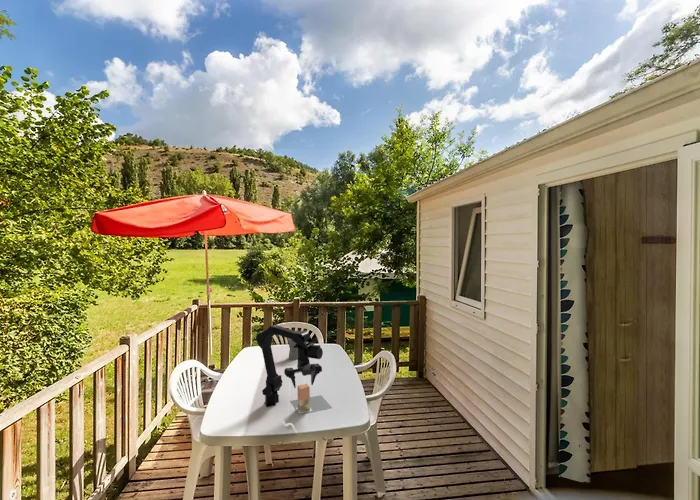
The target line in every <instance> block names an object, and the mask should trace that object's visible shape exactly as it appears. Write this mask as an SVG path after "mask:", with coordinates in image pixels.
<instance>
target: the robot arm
mask: <svg viewBox="0 0 700 500" xmlns="http://www.w3.org/2000/svg"><path fill="white" fill-rule="evenodd" d="M275 335H277V336H281V337H284V338H285V339H286V338H289V339H291V340H293V342H295V343H296V345H295V346H294V348H297V355H298V358H297V360H296V361H297V366H296V367H297V368H295V369H294V368H293V367H288V368H287V367H286V368H285V369H284V375H285V376H286V378H288V379H290V380H291V382H292V385H293V387H294V389H296V387H297V386H296V376H295V374H297V373H298V374H299V373H301V375H302V376H304V377H305V376H310V383H311V386H313V385H314V382H315V379H316V377H317V376H318V375H319V374H320V373H322V372H323V368H322V366H321V365H320V364H319V363H311V362H310V359H314V360H321V359H322V357H323V353H324V351H323V348H322V347H321V344H315V342H314V340H313V338H312V336H311V335H310V333H309V332H308V331H305V330H294V329H290V328H287V327H284V326H280V325H278V324H273V325H270V326H269V327H268V328H267V329H265V330H264V331H261V332H259V333H257V335H256V336H255V340H256V343H257V345H258V346H259V348H260V349H261V351H262V356H263V361H264V366H265V371H266V380H265V387H264V388H263V389H262V390H261V392H262V395H263V396H264V405H265V407H266V408H269V407H274V406H277V405H276V404H277V403H279V402H280V401H279V400H280V398H279V397H280V395H279V394H278V392H279V391H280V390H281V387H282V386H283V380H282V379H283V378H282V375H281V374H278V372H277V370H276V366H275V359H274V355H273V354H274V353H273V350H272V345H273V344H272V343H273V336H275Z"/></svg>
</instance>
